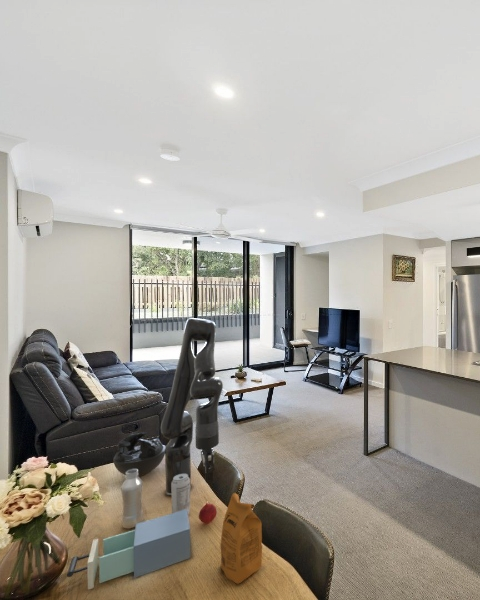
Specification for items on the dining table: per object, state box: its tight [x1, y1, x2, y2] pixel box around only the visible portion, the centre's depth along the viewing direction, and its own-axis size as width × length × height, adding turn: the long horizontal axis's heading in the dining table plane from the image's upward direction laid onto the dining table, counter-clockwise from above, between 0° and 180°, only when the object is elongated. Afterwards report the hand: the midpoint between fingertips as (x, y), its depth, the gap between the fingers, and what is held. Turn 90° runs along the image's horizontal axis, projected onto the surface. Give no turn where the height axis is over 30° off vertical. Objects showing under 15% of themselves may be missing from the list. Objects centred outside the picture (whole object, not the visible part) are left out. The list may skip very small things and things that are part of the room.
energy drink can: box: [171, 474, 191, 515], centre depth 138 cm, size 6×6×15 cm
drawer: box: [66, 529, 135, 591], centre depth 110 cm, size 18×11×8 cm, turn 124°
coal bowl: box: [112, 431, 166, 477], centre depth 169 cm, size 20×20×19 cm
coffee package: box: [219, 492, 263, 585], centre depth 111 cm, size 10×12×22 cm
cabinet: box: [133, 509, 191, 578], centre depth 117 cm, size 15×13×10 cm
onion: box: [198, 501, 218, 525], centre depth 133 cm, size 6×6×8 cm
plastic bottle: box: [120, 469, 145, 529], centre depth 132 cm, size 6×7×20 cm
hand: (207, 476), depth 133 cm, fingers open, 8 cm apart
